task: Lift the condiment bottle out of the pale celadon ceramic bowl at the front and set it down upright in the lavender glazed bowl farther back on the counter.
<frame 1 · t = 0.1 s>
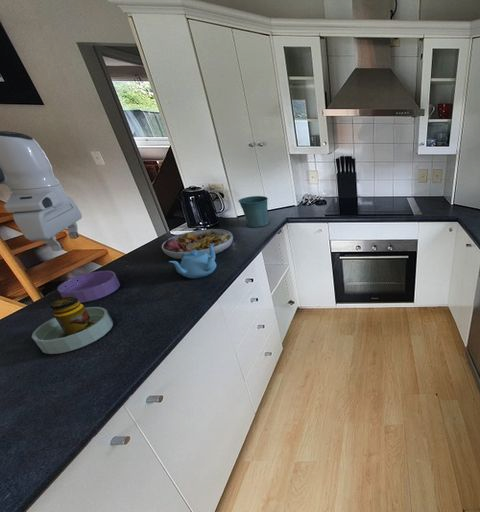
hand: (67, 243, 80), 26 cm above the worktop, tool pointing down, fingers open, 8 cm apart
teapot: (202, 273, 117), on the worktop
celadon bowl: (79, 335, 82), on the worktop
flower pot: (258, 224, 172), on the worktop
condiment: (79, 335, 82), resting on celadon bowl
lavender bowl: (93, 292, 102), on the worktop
bowl: (201, 249, 138), on the worktop
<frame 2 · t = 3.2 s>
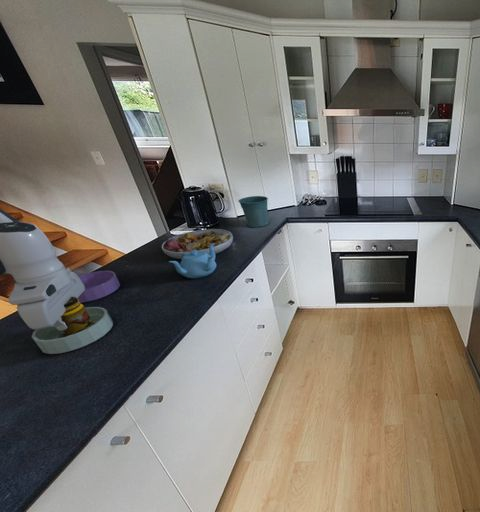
hand: (70, 320, 80), 6 cm above the worktop, tool pointing down, fingers closed on condiment, 6 cm apart
condiment: (79, 335, 82), resting on celadon bowl, touching gripper
everything else where it was.
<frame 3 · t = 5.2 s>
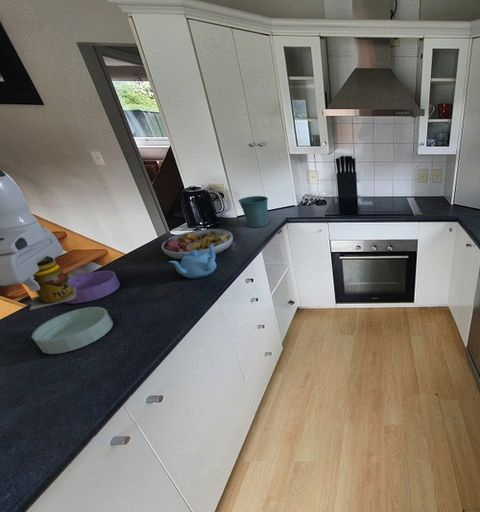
hand: (45, 282, 74), 19 cm above the worktop, tool pointing down, fingers closed on condiment, 6 cm apart
condiment: (55, 299, 76), point 13 cm above the worktop, touching gripper
everything else where it was.
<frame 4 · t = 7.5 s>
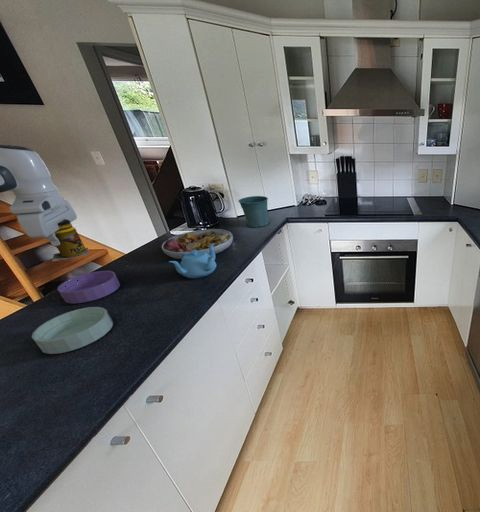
hand: (63, 240, 92), 22 cm above the worktop, tool pointing down, fingers closed on condiment, 6 cm apart
condiment: (71, 255, 94), point 16 cm above the worktop, touching gripper
everything else where it was.
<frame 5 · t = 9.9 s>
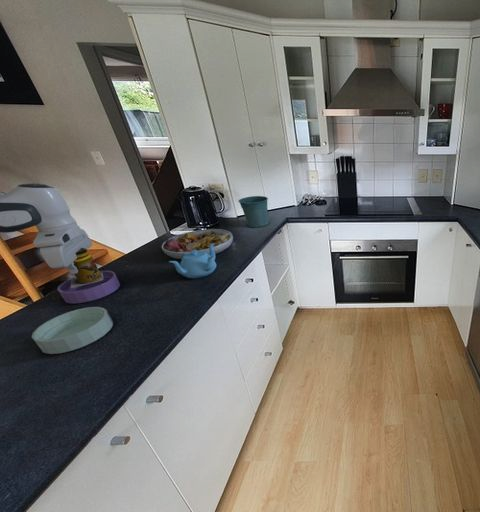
hand: (80, 268, 98), 10 cm above the worktop, tool pointing down, fingers closed on condiment, 6 cm apart
condiment: (87, 280, 100), point 5 cm above the worktop, touching gripper
everything else where it was.
when the fingers open (5 cm above the worktop, at t = 11.7 s): condiment stays where it is, resting on lavender bowl.
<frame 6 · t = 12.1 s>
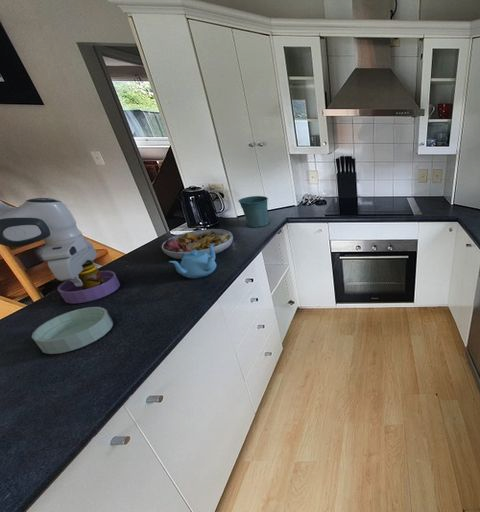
hand: (86, 278, 100), 6 cm above the worktop, tool pointing down, fingers open, 8 cm apart
condiment: (93, 291, 102), resting on lavender bowl
everything else where it was.
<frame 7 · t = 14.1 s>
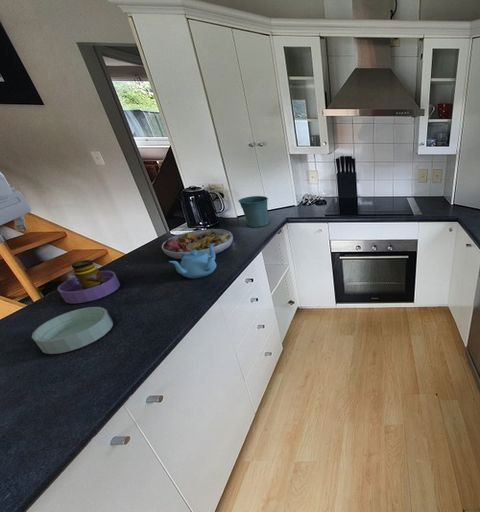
hand: (12, 236, 81), 27 cm above the worktop, tool pointing down, fingers open, 8 cm apart
nothing on the worktop moved.
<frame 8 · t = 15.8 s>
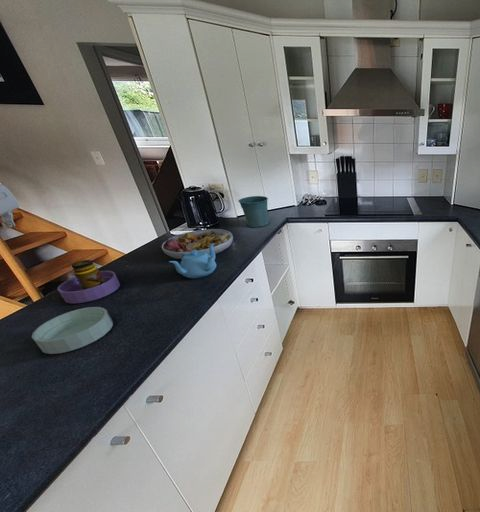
nothing on the worktop moved.
at the end: condiment 0.1 cm off-centre in the lavender bowl, point 0.2 cm above the lavender bowl's base; condiment tilted 0°; the gripper is holding nothing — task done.
